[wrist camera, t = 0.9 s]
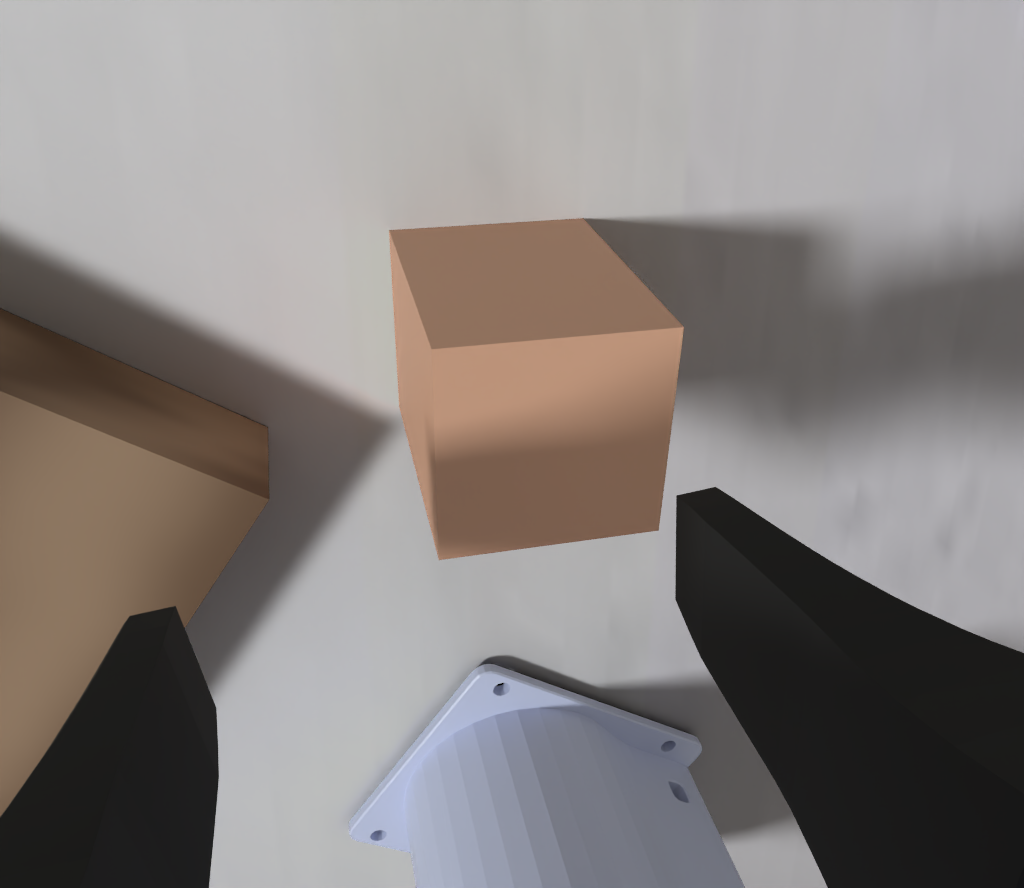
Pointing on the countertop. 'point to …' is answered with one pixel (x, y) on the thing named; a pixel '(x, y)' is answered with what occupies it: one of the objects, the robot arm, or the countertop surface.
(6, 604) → the walnut block
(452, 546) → the terracotta block
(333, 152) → the countertop surface
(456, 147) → the countertop surface
